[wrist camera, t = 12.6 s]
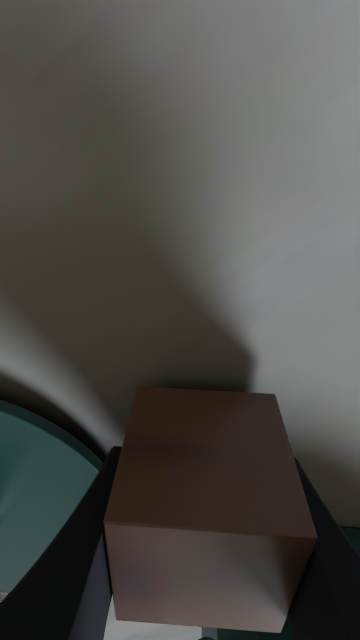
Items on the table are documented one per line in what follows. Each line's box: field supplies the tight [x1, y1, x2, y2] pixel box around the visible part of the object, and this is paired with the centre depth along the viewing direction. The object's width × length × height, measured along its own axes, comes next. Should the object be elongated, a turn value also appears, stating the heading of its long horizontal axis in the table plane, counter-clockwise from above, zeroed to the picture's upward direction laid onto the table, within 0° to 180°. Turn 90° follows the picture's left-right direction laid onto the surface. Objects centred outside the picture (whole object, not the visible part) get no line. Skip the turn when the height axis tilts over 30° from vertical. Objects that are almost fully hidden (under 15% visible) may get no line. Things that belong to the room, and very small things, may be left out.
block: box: [103, 386, 317, 633], centre depth 10 cm, size 5×5×5 cm
